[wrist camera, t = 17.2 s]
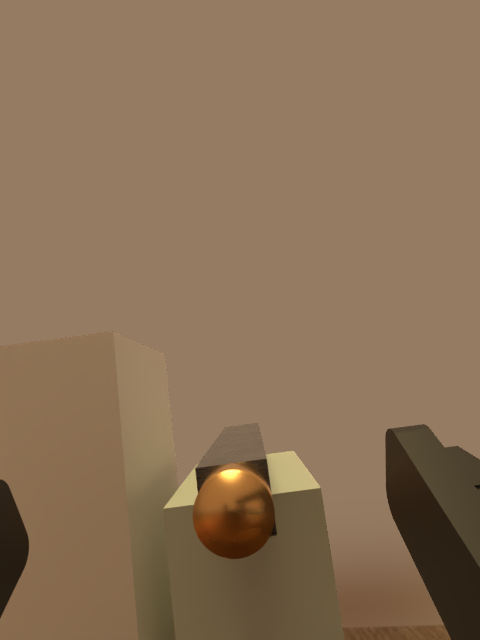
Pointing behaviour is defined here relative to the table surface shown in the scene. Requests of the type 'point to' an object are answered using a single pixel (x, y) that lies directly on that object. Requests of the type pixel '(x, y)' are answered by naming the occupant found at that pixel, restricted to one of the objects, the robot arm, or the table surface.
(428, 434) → the robot arm
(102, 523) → the white stand
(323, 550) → the beige rectangular block
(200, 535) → the rod
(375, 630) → the table surface
